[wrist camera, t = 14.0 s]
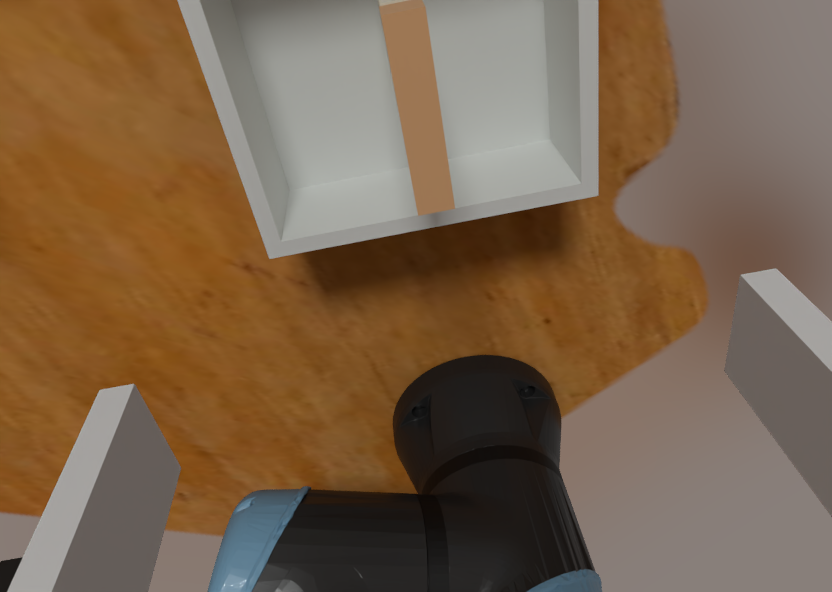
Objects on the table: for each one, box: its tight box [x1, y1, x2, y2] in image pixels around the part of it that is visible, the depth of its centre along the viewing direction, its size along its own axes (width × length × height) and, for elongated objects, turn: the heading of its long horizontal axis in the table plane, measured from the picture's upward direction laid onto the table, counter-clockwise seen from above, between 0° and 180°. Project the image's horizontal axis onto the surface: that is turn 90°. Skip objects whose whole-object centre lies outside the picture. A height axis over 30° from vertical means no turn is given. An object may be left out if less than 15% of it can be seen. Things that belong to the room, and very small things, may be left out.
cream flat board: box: [377, 0, 455, 216], centre depth 32 cm, size 8×2×16 cm, turn 10°
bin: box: [177, 0, 598, 259], centre depth 36 cm, size 20×20×8 cm
